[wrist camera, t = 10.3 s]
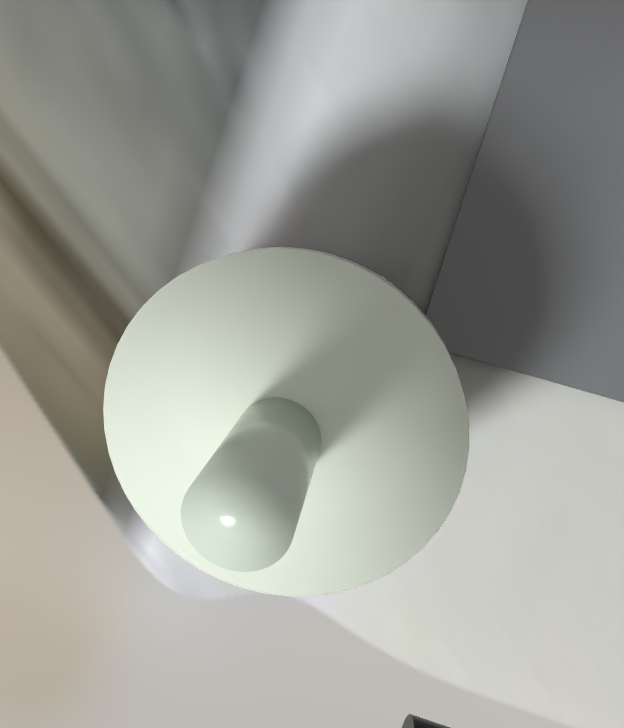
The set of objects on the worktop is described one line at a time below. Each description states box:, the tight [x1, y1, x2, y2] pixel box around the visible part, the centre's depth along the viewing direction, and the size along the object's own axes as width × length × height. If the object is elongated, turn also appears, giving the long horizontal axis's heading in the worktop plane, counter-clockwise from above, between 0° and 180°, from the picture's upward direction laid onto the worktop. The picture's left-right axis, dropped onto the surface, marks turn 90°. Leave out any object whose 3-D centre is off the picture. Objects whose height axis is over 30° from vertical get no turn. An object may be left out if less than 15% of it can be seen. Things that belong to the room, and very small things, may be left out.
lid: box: [103, 247, 469, 596], centre depth 16 cm, size 12×12×6 cm
